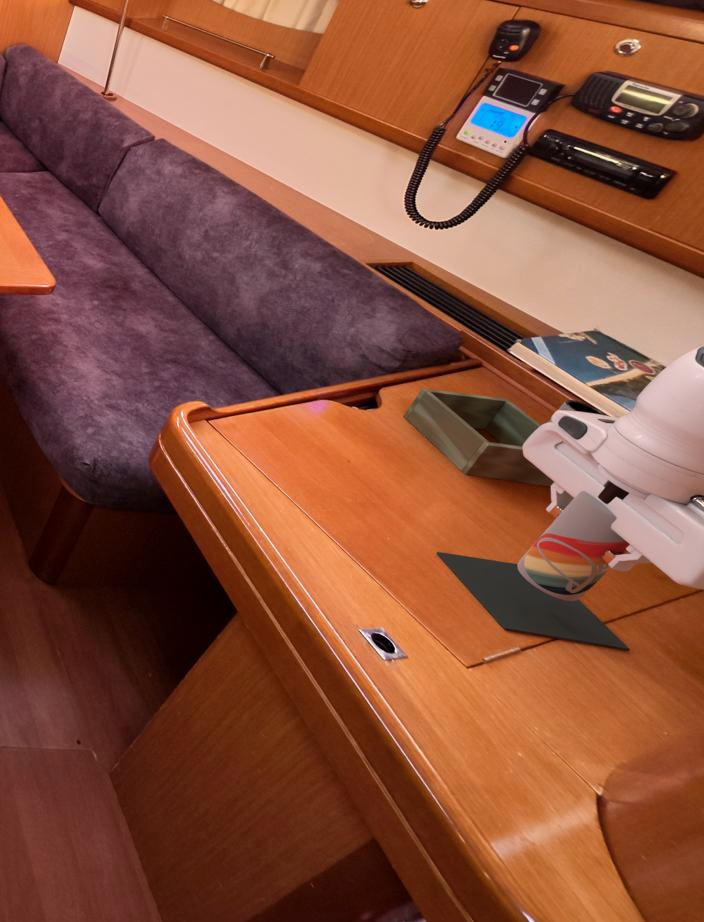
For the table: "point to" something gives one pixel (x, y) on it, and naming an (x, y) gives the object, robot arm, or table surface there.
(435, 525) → the table surface
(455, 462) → the basket
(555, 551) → the striped water bottle
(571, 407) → the planter
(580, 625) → the mat
